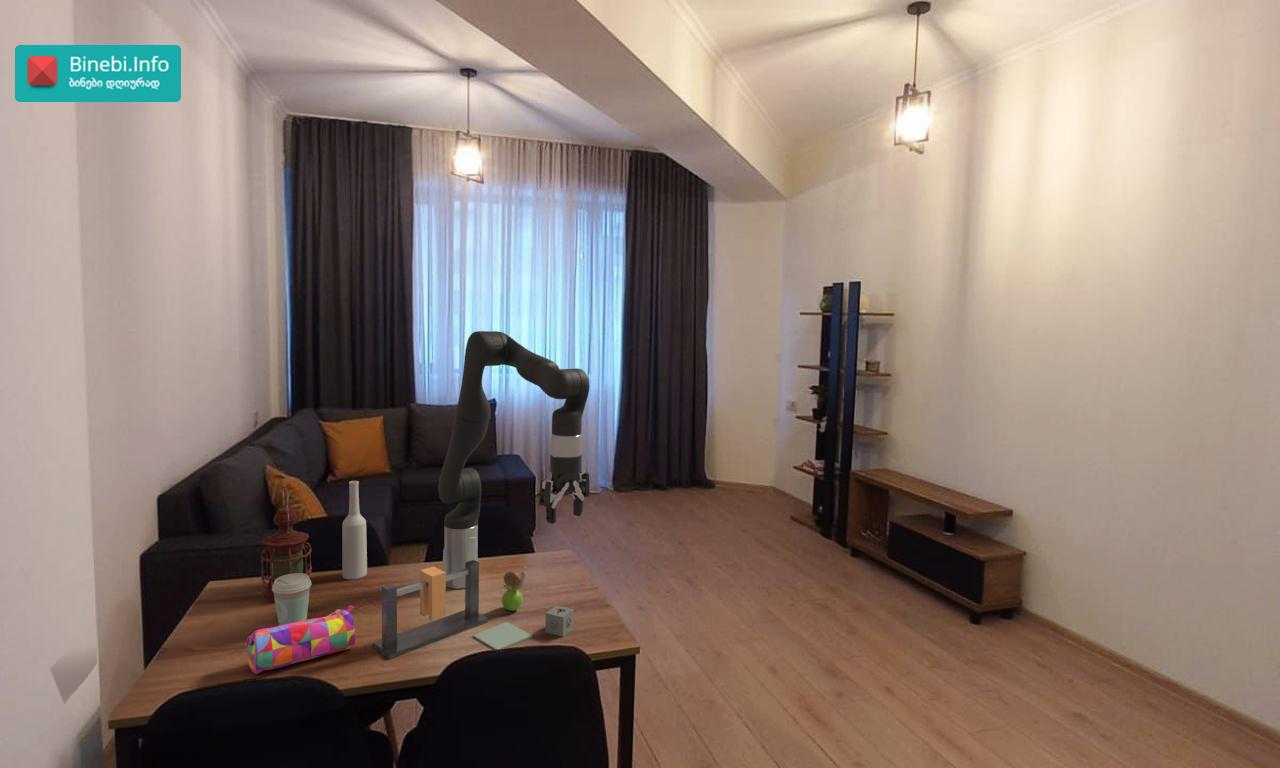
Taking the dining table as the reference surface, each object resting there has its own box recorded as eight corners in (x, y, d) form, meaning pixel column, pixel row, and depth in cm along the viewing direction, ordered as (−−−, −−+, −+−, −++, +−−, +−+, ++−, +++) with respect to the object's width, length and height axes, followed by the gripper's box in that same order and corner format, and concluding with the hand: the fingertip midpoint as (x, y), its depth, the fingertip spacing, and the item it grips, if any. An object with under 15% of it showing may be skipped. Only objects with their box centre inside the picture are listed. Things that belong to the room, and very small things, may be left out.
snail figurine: (521, 615, 170) (522, 570, 169) (498, 612, 171) (498, 568, 170) (529, 607, 175) (529, 563, 174) (506, 604, 177) (507, 561, 176)
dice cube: (573, 628, 164) (573, 609, 164) (563, 637, 160) (563, 617, 159) (556, 624, 166) (556, 605, 166) (545, 632, 162) (545, 613, 161)
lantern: (316, 597, 177) (314, 488, 174) (265, 608, 170) (262, 494, 167) (307, 582, 187) (305, 479, 184) (258, 592, 180) (255, 484, 177)
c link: (420, 614, 159) (420, 570, 158) (433, 609, 162) (433, 566, 161) (432, 621, 156) (432, 576, 154) (445, 616, 158) (445, 572, 157)
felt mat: (473, 636, 158) (473, 635, 158) (507, 623, 166) (507, 621, 166) (497, 651, 152) (497, 649, 152) (532, 636, 159) (532, 635, 159)
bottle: (350, 570, 197) (349, 478, 194) (371, 571, 196) (370, 479, 193) (337, 578, 190) (336, 483, 188) (359, 580, 189) (358, 485, 187)
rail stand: (372, 646, 152) (372, 583, 151) (469, 612, 171) (469, 556, 170) (389, 659, 147) (389, 594, 145) (487, 622, 166) (488, 564, 165)
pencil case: (346, 635, 157) (346, 599, 156) (361, 650, 150) (361, 612, 150) (242, 666, 142) (241, 626, 142) (254, 684, 136) (253, 642, 135)
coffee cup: (274, 621, 163) (273, 574, 162) (313, 616, 166) (312, 570, 165) (270, 637, 155) (269, 587, 154) (311, 631, 158) (310, 583, 157)
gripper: (576, 446, 164) (574, 509, 166) (532, 454, 153) (531, 522, 155) (598, 451, 159) (596, 516, 161) (554, 459, 148) (553, 529, 150)
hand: (564, 519), depth 158 cm, fingers open, 8 cm apart
